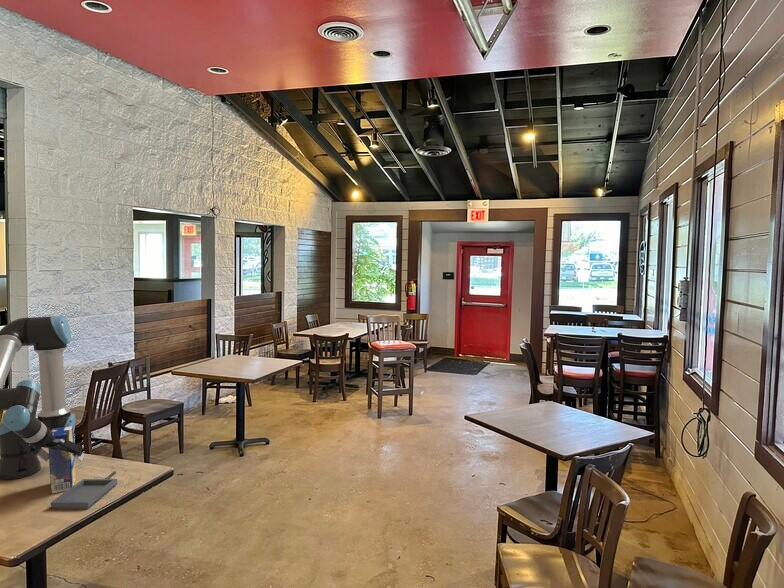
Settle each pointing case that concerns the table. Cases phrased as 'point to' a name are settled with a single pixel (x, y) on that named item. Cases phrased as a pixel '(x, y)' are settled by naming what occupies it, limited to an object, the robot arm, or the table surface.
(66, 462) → the beverage box
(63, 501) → the grey tray with handle
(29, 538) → the table surface
